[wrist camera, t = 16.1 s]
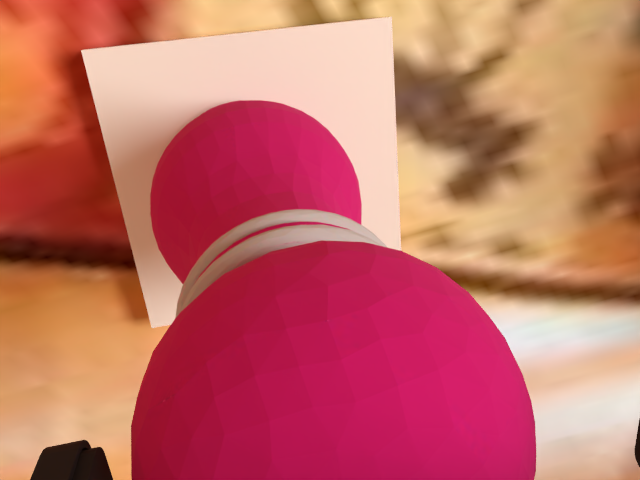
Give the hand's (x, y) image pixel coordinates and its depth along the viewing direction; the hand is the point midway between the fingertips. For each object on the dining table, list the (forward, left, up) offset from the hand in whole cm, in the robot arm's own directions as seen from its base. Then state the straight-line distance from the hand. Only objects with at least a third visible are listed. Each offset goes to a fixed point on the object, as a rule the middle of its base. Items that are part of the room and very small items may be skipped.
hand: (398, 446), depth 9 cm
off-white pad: (0, 0, -17) cm, 17 cm away
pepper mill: (+1, -1, -16) cm, 16 cm away
